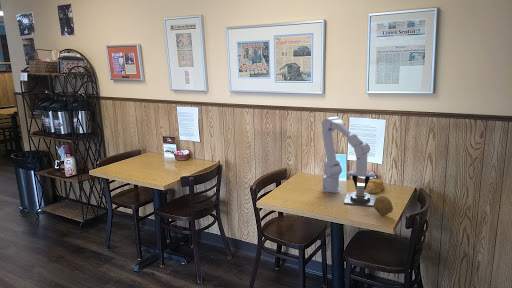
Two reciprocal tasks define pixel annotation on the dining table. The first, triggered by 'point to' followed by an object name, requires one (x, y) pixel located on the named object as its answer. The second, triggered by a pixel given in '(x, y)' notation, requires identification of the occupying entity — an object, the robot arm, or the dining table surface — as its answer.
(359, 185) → the column
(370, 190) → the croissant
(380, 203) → the natural sponge
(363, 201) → the stand base
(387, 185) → the dining table surface
